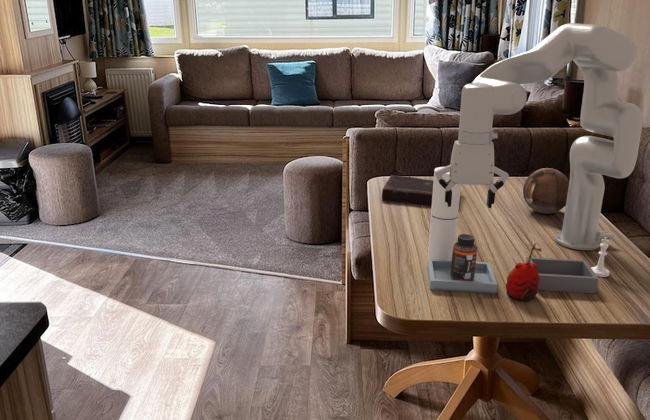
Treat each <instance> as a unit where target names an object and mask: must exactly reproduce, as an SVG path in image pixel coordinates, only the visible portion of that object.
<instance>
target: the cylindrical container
mask: <svg viewBox="0 0 650 420" xmlns="http://www.w3.org/2000/svg"><path fill="white" fill-rule="evenodd" d="M444 167H445V166H439V167H435V168H434V173H433V180H434V182H433V195H432V206H431V209H430V222H429V235H428V248H427V249H428V250H427V260H428V259H435V260H452V253H453V246H454V244H455V243H456V242H457V240H456V239H457V230H458V218H459V209H460V196H461V189H462V188H461V185H462V184H456V185H455V186H454V187H452V188H451V190H452V200H451V206H450V207H448V205H447V202H445V189H444V188H443V187H442V186H441V185H440V183H439V181H438V179H437V177H436V175H435V171H437V170H439V169H442V168H444ZM442 177H443V179H444V180H445V181H446V182H447V181H448V180H449V179H450V178H451V177H450V172H448V173H446V174H443V175H442Z"/></svg>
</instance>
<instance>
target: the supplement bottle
mask: <svg viewBox="0 0 650 420" xmlns="http://www.w3.org/2000/svg"><path fill="white" fill-rule="evenodd" d="M477 255H478V247H477V245H476V244H475V236H473V235H472V234H466V233H462V234H459V235H458V236H457V241H456V243H455V244H454V246H453V253H452V263H451V277H452V279H454V280H459V281H472V280H473V279H474V274H475V265H476V262H477Z"/></svg>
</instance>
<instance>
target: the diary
mask: <svg viewBox="0 0 650 420" xmlns="http://www.w3.org/2000/svg"><path fill="white" fill-rule="evenodd" d="M433 182H434V179H433V180H432V179H425V178H421V177H420V178H418V177H413V176H405V175H393V174H391V175H390V176H389V178H388V179H387V180H386V183H385V185H384V186H383V188H382V191H381V201H382V202H391V203H393V202H394V203H401V204H411V205H419V206H420V205H421V206H431V207H432V195H433Z"/></svg>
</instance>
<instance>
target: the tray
mask: <svg viewBox="0 0 650 420" xmlns="http://www.w3.org/2000/svg"><path fill="white" fill-rule="evenodd" d="M451 263H452V260H435V259H428V258H427V274H428V275H427V276H428V284H429V290H430V291H445V292H461V293H462V292H463V293H475V294H493V295H495V294H496V295H497V294H498V293H497V292H498V283H497V279H496V277H495V273H494V270H493V267H492V264H491V262H489V261H488V262H487V261H485V262H484V261H476V265H475V274H474V279H473V280H472V281H459V280H454V279H452V277H451Z"/></svg>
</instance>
